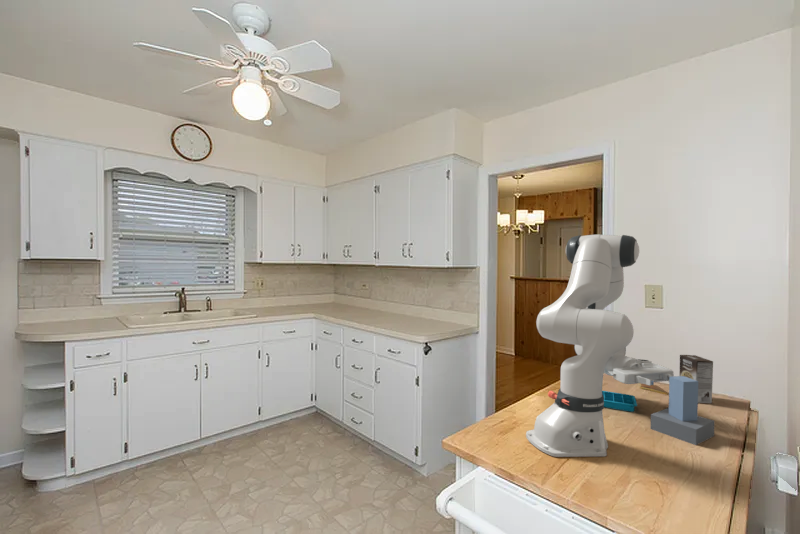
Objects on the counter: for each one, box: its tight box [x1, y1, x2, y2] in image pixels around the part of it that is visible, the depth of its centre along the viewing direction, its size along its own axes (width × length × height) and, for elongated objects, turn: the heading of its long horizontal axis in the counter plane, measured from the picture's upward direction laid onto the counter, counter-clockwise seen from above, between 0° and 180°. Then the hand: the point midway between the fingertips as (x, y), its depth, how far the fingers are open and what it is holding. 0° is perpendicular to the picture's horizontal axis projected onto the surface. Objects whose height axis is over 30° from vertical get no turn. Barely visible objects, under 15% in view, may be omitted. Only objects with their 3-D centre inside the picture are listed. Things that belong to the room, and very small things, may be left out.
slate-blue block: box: [668, 375, 699, 421], centre depth 114 cm, size 5×5×12 cm
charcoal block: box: [650, 407, 715, 446], centre depth 114 cm, size 12×12×5 cm
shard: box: [637, 383, 669, 396], centre depth 153 cm, size 11×8×2 cm
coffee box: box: [679, 354, 714, 404], centre depth 143 cm, size 9×6×16 cm
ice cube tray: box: [602, 390, 638, 413], centre depth 138 cm, size 12×20×3 cm, turn 62°
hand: (663, 381), depth 120 cm, fingers open, 8 cm apart
